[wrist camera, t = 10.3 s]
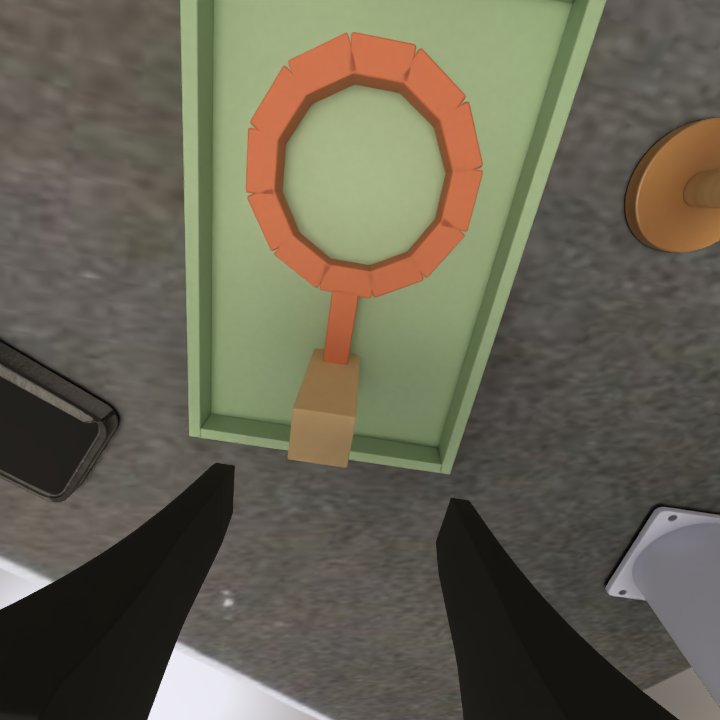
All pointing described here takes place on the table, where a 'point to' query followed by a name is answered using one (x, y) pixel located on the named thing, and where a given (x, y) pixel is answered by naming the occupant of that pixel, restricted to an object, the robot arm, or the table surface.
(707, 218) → the peg stand
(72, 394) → the phone
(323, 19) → the tray
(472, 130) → the ring
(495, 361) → the table surface
